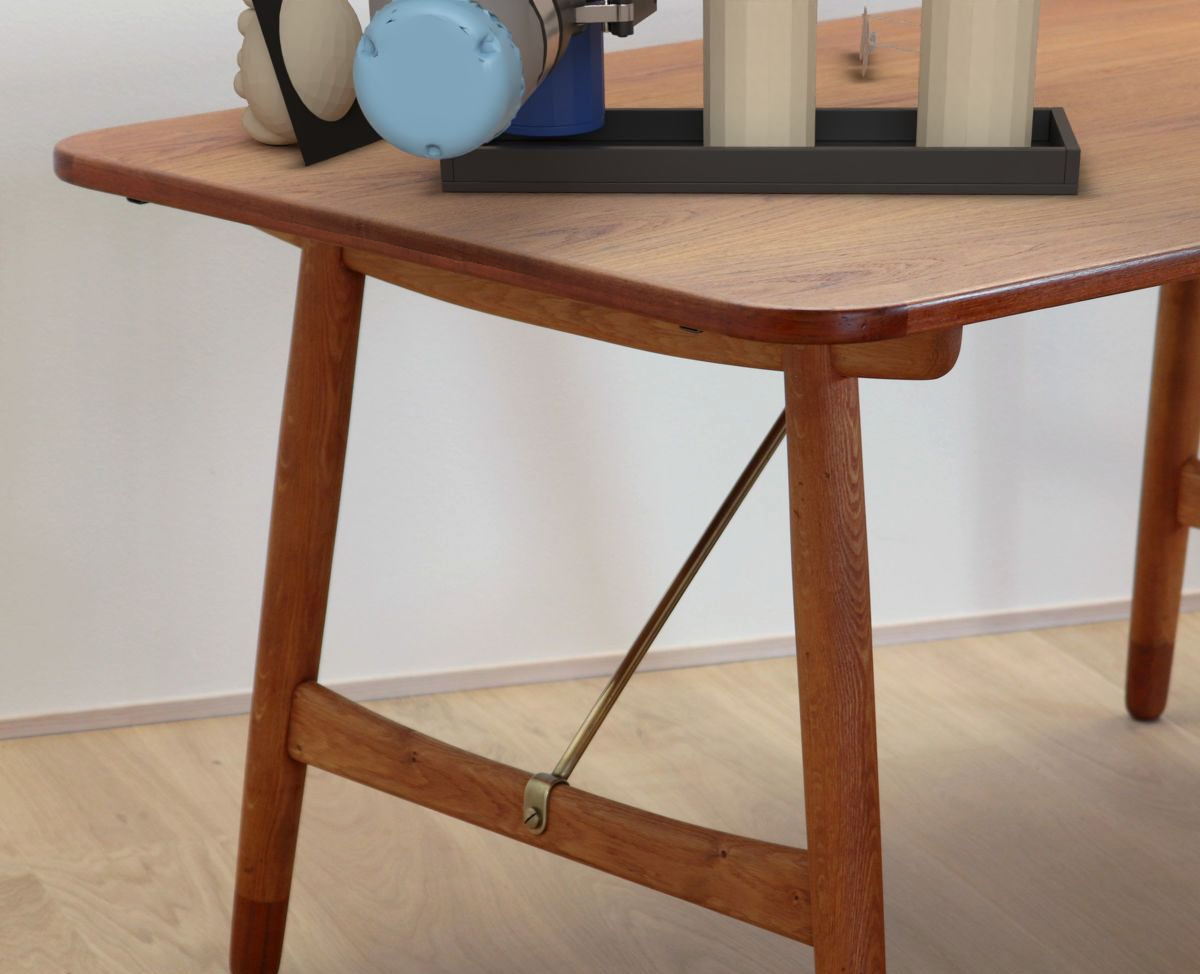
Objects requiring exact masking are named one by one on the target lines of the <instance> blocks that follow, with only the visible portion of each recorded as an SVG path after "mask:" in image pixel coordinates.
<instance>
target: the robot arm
mask: <svg viewBox="0 0 1200 974" xmlns="http://www.w3.org/2000/svg"><path fill="white" fill-rule="evenodd" d="M368 11H369V24H367V26H366V27H365V28H364V31H363V34H362V36H361V40H360V42H359V44H358V47H357V50H356V53H355V58H354V65H353V81H354V88H355V93H356V97H357V100H358V103H359V105H360V108H361V110H362V112H363V114H364V116H365V117H366V119H367V120H368V122H369V123H370V125H371V126H372V127H373V128H374V130H375V131H376V132H377V133H378V134H379V135H380V136H381V137H382V138H383V139H382V140H385V141H386V142H387V143H388V144H389V145H391V146H393V147H394V148H396V149H398V150H400V151H401V152H404V153H406V154H409V155H411V156H414V157H417V158H424V159H429V160H430V159H431V160H435V161H440V159H446V158H453V157H457V156H461V155H464V154H466V153H469V152H471V151H473V150H474V149H476V148H478V147H479V146H481V145H482V144H483V143H488V142H489V141H491V140H492V139H494V138H495V137H497V136H499V135H500V134H501V133H503V132H504V131H505V130H506V129H507V128H508V127H509V126H510V125H511V120H512V119H514V118H515V117H516V114H517V112H518V110H519V109H520V108H521V106H522V105H523V104H524V103H525V102H526V100H527V99H528V98H529V97H530V95H531V94H532V93H533V92H534V91H535V90H536V89H537V88H538V87H539V85H541V84H542V83H543V81H544V80H545V79H546V78H547V77H548V76H549V75H550V74H551V73H552V71H553V70H554V69H555V68H556V67H557V65H558V64H559V62H560V61H561V59H562V57H563V55H564V53H565V51H566V49H567V46H568V43H569V40H570V37H572V36H576V35H579V34H581V33H582V32H583V31H584V30H585V28H586V26H587V23H593V22H601V31H602V32H603V34H605V33H607V34H608V33H610V34H611V35H612V36H616V37H618V38H623V39H625V38H628V36H632V35H634V34H635V26H638V24H640V23H642V22H643V21H644V20H646V19H647V18H649V17H651V15H653V14H654V13H656V12H657V11H658V0H368Z"/></svg>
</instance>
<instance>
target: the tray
mask: <svg viewBox="0 0 1200 974" xmlns="http://www.w3.org/2000/svg"><path fill="white" fill-rule="evenodd" d="M917 110H918V106H917V107H914V106H912V107H909V106H907V107H906V106H905V107H904V106H901V107H900V106H899V107H891V106H890V107H889V106H888V107H887V106H886V107H883V106H882V107H881V106H880V107H815V147H704V131H703V107H605V114H604V117H605V123H604V126H603V127H601V128H600V129H597V130H594V131H591V132H587V133H582V134H576V135H567V136H552V137H534V136H520V135H513V134H508V133H504V132H503V133H501V134H500V135H499V136H497V137H495V138H494V139H492V140H491V141H489V142H488V143H483V144H482V145H481V146H479V147H478V148H476V149H474V150H473V151H471V152H469V153H466V154H464V155H461V156H457V157H453V158H446V159H440V160H439V165H440V166H439V167H440V180H441V182H440V183H441V192H443V193H625V194H626V193H628V194H629V193H633V194H634V193H638V194H639V193H641V194H642V193H643V194H646V193H647V194H649V193H651V194H653V193H655V194H658V193H659V194H661V193H662V194H663V193H664V194H675V193H676V194H849V195H850V194H852V195H853V194H856V195H857V194H863V195H865V194H866V195H867V194H868V195H871V194H872V195H873V194H875V195H881V194H882V195H886V194H890V195H891V194H892V195H898V194H899V195H902V194H903V195H917V194H918V195H1078V193H1079V192H1078V191H1079V181H1080V168H1081V156H1082V155H1081V154H1082V149H1081V147H1080V145H1079V143H1078V140H1077V138H1076V135H1075V133H1074V130H1073V128H1072V125H1071V124H1070V121H1069V118H1068V116H1067V114H1066V110H1065V108H1064V107H1063V106H1051V107H1050V106H1033V120H1032V135H1031V147H916V134H917Z"/></svg>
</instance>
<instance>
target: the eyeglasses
mask: <svg viewBox="0 0 1200 974" xmlns="http://www.w3.org/2000/svg"><path fill="white" fill-rule="evenodd" d="M861 18H862V27H861V36H860V44H859V60H860V61H862V68H861V69H862V70H861V76H862V78H865V77H866V73H867V67H868V61H869V53H870V54H871V53H873V52H874V51H875V49H876V47H880V48H886V49H893V50H899V51H905V52H911V53H918V54H920V50H916V49H911V48H905V47H899V46H895V45H890V44H884V43H878V35H877V31H876V30H871V23H870V19H875V20H881V21H888V22H893V23H899V24H905V25H912V26H918V27H921V24H919V23H914V22H907V21H902V20H897V19H893V18H887V17H882V16H875V15H870V14H868V8H867V6H866V5H864V9H863V13H862V14H861ZM868 18H869V19H868Z"/></svg>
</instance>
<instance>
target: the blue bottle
mask: <svg viewBox="0 0 1200 974" xmlns="http://www.w3.org/2000/svg"><path fill="white" fill-rule="evenodd" d="M604 38H605V37H604V32H602V31H601V22H593V23H587V26H586V28H585V30H584V31H583V32H582V33H581V34H579V35H576V36H572V37H570V40H569V43H568V46H567V49H566V51H565V53H564V55H563V57H562V59H561V61H560V62H559V64H558V65H557V67H556V68H555V69H554V70H553V71H552V73H551V74H550V75H549V76H548V77H547V78H546V79H545V80H544V81H543V83H542V84H541V85H539V87H538V88H537V89H536V90H535V91H534V92H533V93H532V94H531V95H530V97H529V98H528V99H527V100H526V102H525V103H524V104H523V105H522V106H521V108H520V109H519V110H518V112H517V114H516V117H515V118H514V119H512V120H511V125H510V126H509V127H508V128H507V129H506V130H505V131H504V133H508V134H513V135H520V136H534V137H552V136H567V135H576V134H582V133H587V132H591V131H594V130H597V129H600V128H601V127H603V126H604V123H605V117H604V114H605V108H606V92H605V91H606V90H605V89H606V88H605V87H606V83H605V48H604V47H605V46H604V45H605V42H604V41H605V39H604Z"/></svg>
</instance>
